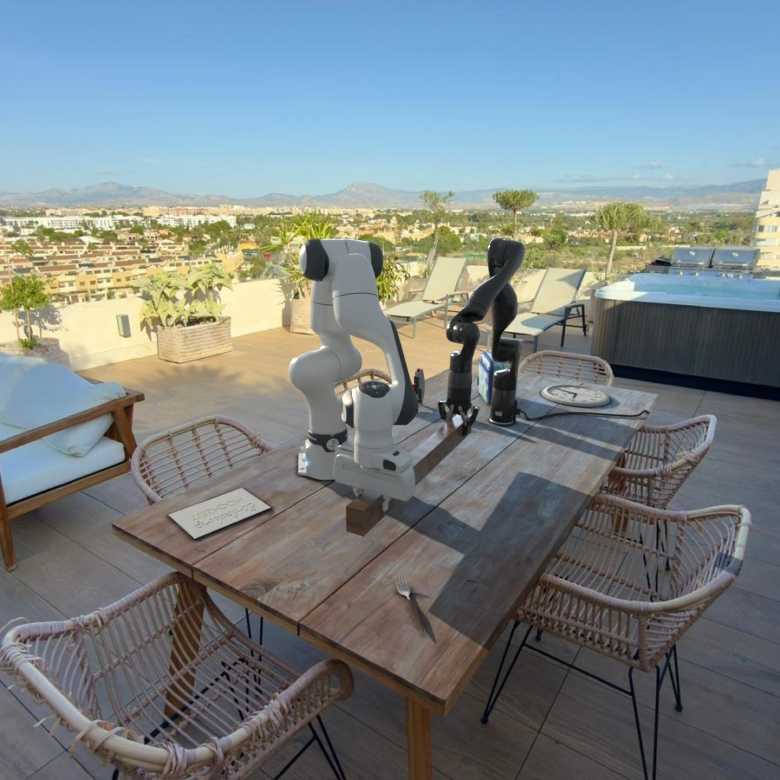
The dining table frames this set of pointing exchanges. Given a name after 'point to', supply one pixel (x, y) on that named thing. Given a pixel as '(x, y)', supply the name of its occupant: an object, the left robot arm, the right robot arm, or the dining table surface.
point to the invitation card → (218, 512)
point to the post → (425, 459)
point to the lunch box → (487, 375)
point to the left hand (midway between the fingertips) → (372, 506)
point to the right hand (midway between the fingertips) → (456, 433)
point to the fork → (406, 591)
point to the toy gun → (419, 385)
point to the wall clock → (575, 395)
